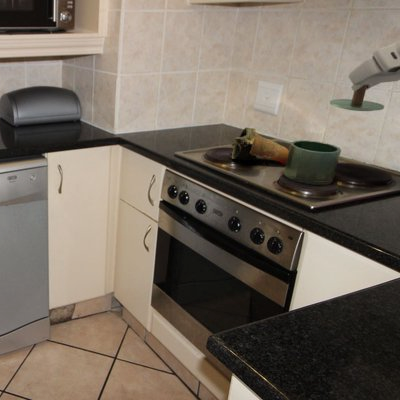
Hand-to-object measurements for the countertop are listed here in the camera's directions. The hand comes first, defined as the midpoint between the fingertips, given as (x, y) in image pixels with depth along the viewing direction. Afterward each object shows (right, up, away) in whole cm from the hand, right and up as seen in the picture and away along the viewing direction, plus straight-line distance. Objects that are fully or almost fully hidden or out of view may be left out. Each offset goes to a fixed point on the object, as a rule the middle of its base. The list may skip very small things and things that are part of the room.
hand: (358, 88), depth 139 cm
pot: (-25, -20, +14) cm, 35 cm away
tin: (-14, -26, +1) cm, 30 cm away
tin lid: (0, -5, +1) cm, 5 cm away
